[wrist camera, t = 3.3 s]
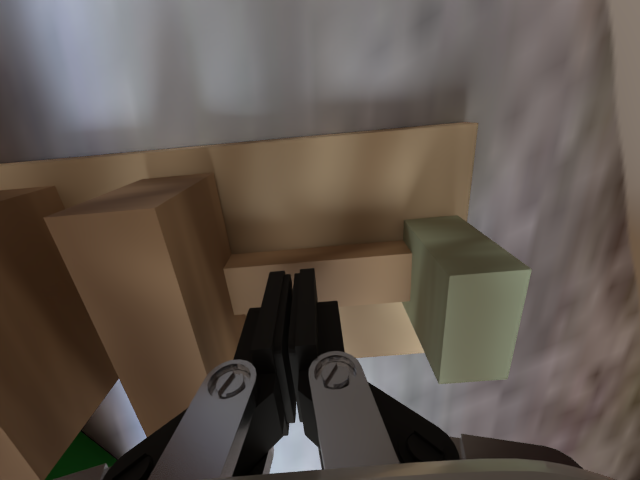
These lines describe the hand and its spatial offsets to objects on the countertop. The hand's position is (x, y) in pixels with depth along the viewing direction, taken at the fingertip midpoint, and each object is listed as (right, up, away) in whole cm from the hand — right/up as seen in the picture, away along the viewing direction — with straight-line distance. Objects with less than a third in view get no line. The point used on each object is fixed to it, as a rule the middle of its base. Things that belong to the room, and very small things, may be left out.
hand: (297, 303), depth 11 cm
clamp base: (-3, +1, +4) cm, 6 cm away
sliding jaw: (0, +1, +3) cm, 3 cm away
